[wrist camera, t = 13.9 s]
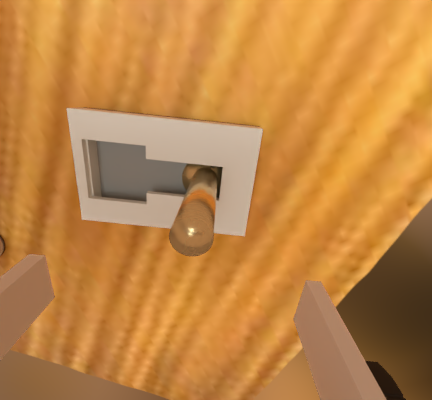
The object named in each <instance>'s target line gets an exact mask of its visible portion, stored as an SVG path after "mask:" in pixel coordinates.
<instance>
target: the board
mask: <svg viewBox="0 0 432 400" xmlns="http://www.w3.org/2000/svg"><path fill="white" fill-rule="evenodd" d="M67 115H68V123H69V130H70V137H71V144H72V151H73V158H74V165H75V173H76V180H77V187H78V194H79V201H80V208H81V216H82V220H91V221H101V222H111V223H121V224H130V225H140V226H150V227H160V228H169V229H171V227H172V225H173V223H174V220H175V218H176V216H177V213H178V211H179V208H180V206H181V204H182V201H183V199H184V196H185V194H186V192H187V191H186V190H185V188H184V186H183V182H182V173H183V170H184V168H185V166H186V165H187V163H190V164H199V165H208V166H218V167H223V169H222V177H221V186H220V195H219V197H218V198H216V208H215V222H214V233H218V234H228V235H238V236H245V231H246V225H247V220H248V214H249V208H250V202H251V196H252V191H253V185H254V179H255V173H256V167H257V162H258V156H259V150H260V144H261V138H262V133H263V129H262V128H260V127H259V126H252V125H243V124H233V123H224V122H215V121H206V120H196V119H187V118H178V117H169V116H159V115H150V114H141V113H131V112H122V111H113V110H104V109H94V108H67Z"/></svg>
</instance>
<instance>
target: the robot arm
mask: <svg viewBox="0 0 432 400" xmlns="http://www.w3.org/2000/svg"><path fill="white" fill-rule="evenodd" d="M54 297H55V296H54V292H53V288H52V283H51V279H50V275H49V270H48V266H47V262H46V257H45V255H35V254H29V255H28V256H26V257H25V258H24V259H22V260H21V261H20V262H19V263H17V264H16V265H15V266H14V267H12V268H11V269H10V270H8V271H7V272H6V273H5V274H3V275H2V276H1V277H0V360H1V359H2V358H3V357H4V355H5V354H6V353H7V352H8V351H9V350H10V348H11V347H12V346H13V345H14V344H15V343H16V341H17V340H18V339H19V338H20V337H21V336H22V335H23V333H24V332H25V331H26V330H27V329H28V328H29V326H30V325H31V324H32V323H33V322H34V321H35V319H36V318H37V317H38V316H39V315H40V314H41V312H42V311H43V310H44V309H45V308H46V307H47V306H48V304H49V303H50V302H51V301H52V300H53V299H54ZM294 322H295V325H296V328H297V331H298V334H299V337H300V340H301V343H302V346H303V349H304V352H305V355H306V358H307V361H308V364H309V367H310V370H311V373H312V376H313V379H314V382H315V385H316V388H317V391H318V394H319V397H320V400H406V399H405V398H403V394H402V393H401V391H400V389H399V388H398V386H397V384H396V383H395V381H394V380H393V378H392V377H391V376H390V375H389V374H388V373H387V372H386V370H385V369H384V368H383V367H382V366H381V365H380V364H379V363H378V362H370V361H365V360H364V358H363V356H362V355H361V353H360V351H359V349H358V348H357V346H356V344H355V342H354V340H353V339H352V337H351V335H350V333H349V332H348V330H347V328H346V326H345V324H344V322H343V321H342V319H341V317H340V315H339V313H338V312H337V310H336V308H335V306H334V304H333V303H332V301H331V299H330V297H329V295H328V294H327V292H326V290H325V288H324V286H323V285H322V283H321V282H318V281H307V280H306V282H305V285H304V288H303V291H302V294H301V298H300V301H299V304H298V307H297V310H296V313H295V316H294Z"/></svg>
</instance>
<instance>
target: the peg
mask: <svg viewBox="0 0 432 400" xmlns="http://www.w3.org/2000/svg"><path fill="white" fill-rule="evenodd" d="M222 169H223V167H218V166H208V165H199V164H190V163H187V165H186V166H185V168H184V170H183V173H182V182H183V186H184V188H185V190H186V191H187V192H186V194H185V196H184V199H183V201H182V204H181V206H180V208H179V211H178V213H177V216H176V218H175V220H174V223H173V225H172V227H171V230H170V233H169V239H170V243H171V245H172V246H173V248H174V249H175V250H176V251H178V252H179V253H181V254H183V255H186V256H199V255H202V254H204V253H205V252H207V251H208V250H209V249H210V247H211V246H212V243H213V236H214V222H215V208H216V198H218V197H219V195H220V186H221V177H222Z"/></svg>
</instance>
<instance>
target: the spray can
mask: <svg viewBox="0 0 432 400" xmlns="http://www.w3.org/2000/svg"><path fill="white" fill-rule="evenodd" d="M4 249H5V248H4V241H3V239H2V238H1V236H0V255H1V254H2V253H3V251H4Z"/></svg>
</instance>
